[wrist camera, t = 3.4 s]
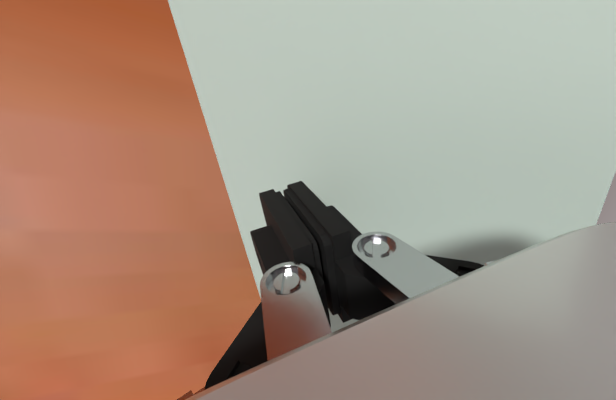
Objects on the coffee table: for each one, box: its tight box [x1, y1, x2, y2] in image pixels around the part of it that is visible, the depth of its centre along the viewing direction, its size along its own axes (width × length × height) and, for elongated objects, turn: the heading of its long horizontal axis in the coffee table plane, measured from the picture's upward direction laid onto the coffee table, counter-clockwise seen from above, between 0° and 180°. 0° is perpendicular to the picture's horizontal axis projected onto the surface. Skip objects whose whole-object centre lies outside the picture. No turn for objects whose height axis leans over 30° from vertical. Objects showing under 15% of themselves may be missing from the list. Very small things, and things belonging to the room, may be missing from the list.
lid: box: [168, 0, 616, 332], centre depth 12 cm, size 14×18×1 cm
